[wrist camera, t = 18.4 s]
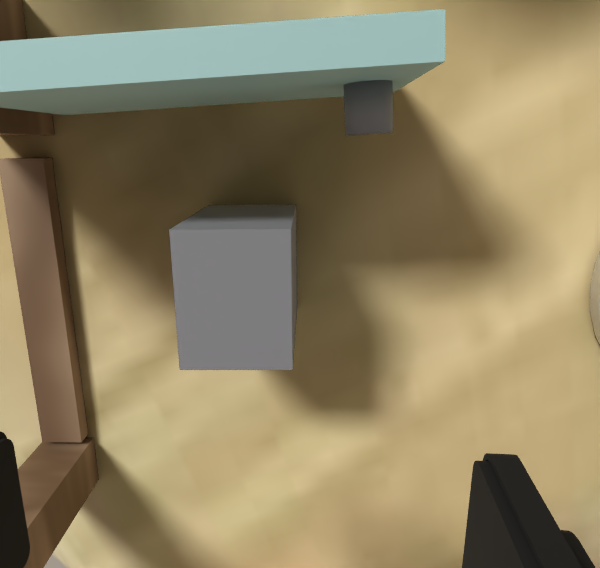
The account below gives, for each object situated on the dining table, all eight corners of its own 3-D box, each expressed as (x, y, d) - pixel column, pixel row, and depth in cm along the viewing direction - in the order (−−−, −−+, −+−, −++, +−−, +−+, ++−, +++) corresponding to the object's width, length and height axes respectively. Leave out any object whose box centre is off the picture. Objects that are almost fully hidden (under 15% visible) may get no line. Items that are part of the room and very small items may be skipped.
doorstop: (297, 308, 25) (292, 369, 18) (214, 308, 25) (179, 369, 18) (296, 204, 23) (290, 229, 17) (209, 204, 24) (169, 229, 17)
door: (60, 85, 21) (-95, 47, 13) (391, 62, 21) (445, 8, 13) (72, 154, 22) (-68, 160, 14) (392, 133, 22) (443, 127, 13)
